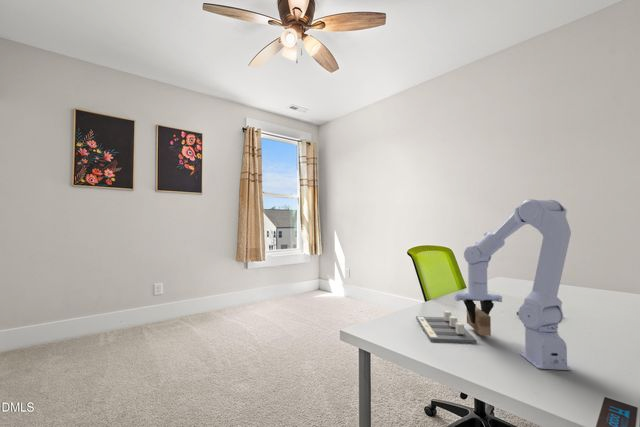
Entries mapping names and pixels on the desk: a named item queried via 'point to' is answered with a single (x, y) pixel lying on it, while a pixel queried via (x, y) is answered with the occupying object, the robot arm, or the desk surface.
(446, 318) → the tab
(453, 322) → the tab
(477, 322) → the pusher bar
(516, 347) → the desk surface
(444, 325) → the switch board
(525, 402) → the desk surface
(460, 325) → the beige small block
